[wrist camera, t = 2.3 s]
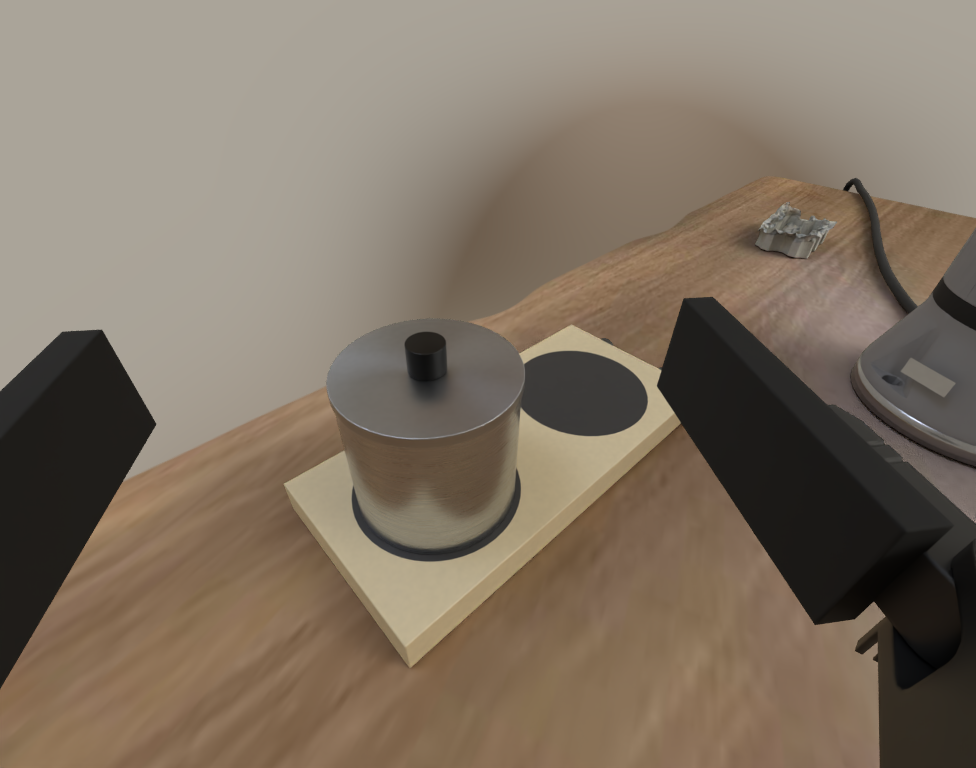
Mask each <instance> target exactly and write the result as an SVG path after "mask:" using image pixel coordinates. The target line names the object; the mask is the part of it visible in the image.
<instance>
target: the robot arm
mask: <svg viewBox="0 0 976 768" xmlns="http://www.w3.org/2000/svg"><path fill="white" fill-rule="evenodd" d="M853 184H854V185H855V187H856V190H857V192H858V193H859V194H860V195H861V197H862V198H863V200H864V202H865V204H866V207H867V209H868V212H869V216H870V221H871V230H872V238H873V245H874V251H875V255H876V259H877V262H878V265H879V268H880V271H881V273H882V275H883V278H884V279H885V281H886V283H887V285H888V286H889V288H890V290H891V291H892V293H893V294H894V296H895V297H896V299H897V300H898V301H899V303H900V304H901V305H902V307H903V308H904V309H905V310H906V311H907V313H908V315H907V316H906V317H904V318H903V319H902V320H901V321H899V322H898V323H897V324H896V325H894V326H893V327H892V328H891V329H889V330H888V331H887V332H885V333H884V334H883V335H882V336H880V337H879V338H878V339H877V340H875V341H874V342H873V343H872V344H870V345H869V346H868V348H866V349H865V350H864V351H863V352H862V354H861V356H860V357H859V359H858V360H857V362H856V364H855V365H854V367H853V369H852V371H851V382H852V385H853V388H854V390H855V392H856V393H857V395H858V396H859V398H860V399H861V400H862V401H863V403H864V404H865V405H866V406H867V407H868V408H869V409H870V410H871V411H872V412H873V413H875V414H876V415H877V416H878V417H879V418H881V419H882V420H883V421H884V422H886V423H887V424H888V425H890V426H891V427H893V428H894V429H896V430H897V431H899V432H900V433H902V434H904V435H905V436H907V437H909V438H910V439H912V440H914V441H916V442H918V443H920V444H921V445H923V446H925V447H927V448H930V449H932V450H934V451H936V452H938V453H941V454H943V455H945V456H948V457H950V458H953V459H955V460H958V461H961V462H964V463H966V464H970V465H973V466H976V228H975V230H974V231H973V233H972V234H971V236H970V237H969V239H968V240H967V242H966V243H965V244H964V246H963V247H962V249H961V250H960V252H959V253H958V255H957V256H956V258H955V259H954V261H953V262H952V263H951V265H950V266H949V268H948V269H947V271H946V272H945V274H944V276H943V277H942V279H941V280H940V282H939V283H938V285H937V286H936V287H935V289H934V290H933V292H932V293H931V295H930V296H929V297H928V299H927V300H926V301H925V302H923V303H922V304H921V305H920V306H917V305H916V304H915V303H914V302H913V301H912V299H911V298H910V297H909V296H908V294H907V293H906V292H905V290H904V289H903V288H902V286H901V285H900V283H899V282H898V280H897V278H896V277H895V275H894V273H893V272H892V270H891V267H890V265H889V263H888V260H887V257H886V254H885V251H884V248H883V243H882V238H881V232H880V224H879V219H878V214H877V210H876V207H875V205H874V203H873V201H872V199H871V197H870V195H869V193H868V192H867V191H866V190H865V188H864V187H863V185H862V183H861V181H860V180H859V179H857V178H854V179H852V180H850V181H849V182H848V183H847V184H846V185H845V187H844V188H843V190H844V191H849V190H850V188H851V187H852V185H853ZM657 387H658V389H659V390H660V392H661V393H662V395H663V396H664V398H665V399H666V401H667V402H668V404H669V405H670V407H671V408H672V410H673V411H674V413H675V415H676V416H677V418H678V419H679V421H680V422H681V424H682V425H683V427H684V428H685V430H686V431H687V433H688V434H689V436H690V437H691V439H692V440H693V442H694V443H695V445H696V446H697V448H698V449H699V451H700V452H701V454H702V455H703V457H704V458H705V460H706V461H707V463H708V464H709V466H710V467H711V469H712V470H713V472H714V473H715V475H716V476H717V478H718V479H719V481H720V482H721V484H722V485H723V487H724V488H725V490H726V491H727V493H728V494H729V496H730V497H731V499H732V500H733V502H734V503H735V505H736V507H737V508H738V510H739V511H740V513H741V514H742V516H743V517H744V519H745V520H746V522H747V523H748V525H749V526H750V528H751V529H752V531H753V532H754V534H755V535H756V537H757V538H758V540H759V541H760V543H761V544H762V546H763V547H764V549H765V550H766V552H767V553H768V555H769V556H770V558H771V559H772V561H773V562H774V564H775V565H776V567H777V568H778V570H779V571H780V573H781V574H782V576H783V577H784V579H785V580H786V582H787V583H788V585H789V586H790V588H791V589H792V591H793V592H794V594H795V595H796V597H797V599H798V600H799V602H800V603H801V605H802V606H803V608H804V609H805V611H806V612H807V614H808V615H809V617H810V618H811V620H812V621H813V623H814V624H815V625H818V624H825V623H832V622H839V621H846V620H852V619H855V618H857V617H858V616H859V615H860V614H861V613H862V612H863V611H864V610H865V609H866V608H867V607H868V606H869V605H870V604H871V603H873V602H875V603H876V604H877V606H878V607H879V608H880V609H881V611H882V612H883V613H884V615H885V616H886V617H885V618H884V619H882V620H881V621H880V622H879V623H878V624H877V625H876V626H874V627H873V628H872V629H871V630H870V631H869V632H868V633H866V634H865V635H864V636H863V637H862V638H861V639H860V640H858V643H857V646H856V649H855V651H856V652H858V653H860V654H863V653H865V652H866V651H867V650H868V649H869V648H871V647H872V646H873V645H874V644H875V643H877V642H878V654H877V655H876V656H875V657H874V658H873V660H874V661H876V662H878V683H879V744H880V768H976V524H975V523H974V522H973V521H972V520H971V519H970V518H969V517H967V516H966V515H965V514H964V513H963V512H962V511H961V510H960V509H959V508H958V507H956V506H955V505H954V504H953V503H952V502H951V501H950V500H949V499H948V498H947V497H945V496H944V495H943V494H942V493H941V492H940V491H939V490H938V489H937V488H936V487H934V486H933V485H932V484H931V483H930V482H929V481H928V480H927V479H926V478H925V477H923V476H922V475H921V474H920V473H919V472H918V471H917V470H916V469H915V468H913V467H912V466H911V465H910V464H909V463H908V462H903V461H902V457H901V456H900V455H899V454H898V453H897V452H896V451H895V450H894V449H893V448H891V447H890V446H889V445H885V444H884V440H883V439H882V438H880V437H879V436H878V435H877V434H876V433H875V432H874V431H873V430H872V429H871V428H869V427H868V426H867V425H866V424H865V423H864V422H863V421H861V420H860V419H858V418H856V417H855V416H853V415H851V414H849V413H848V412H846V411H844V410H843V409H841V408H839V407H837V406H836V405H827V404H826V403H824V402H823V401H822V400H821V399H820V398H819V397H818V396H817V395H816V394H815V393H814V392H813V391H812V390H811V389H810V388H809V387H808V386H806V385H805V384H804V383H803V382H802V381H801V380H800V379H799V378H798V377H797V376H796V375H795V374H794V373H793V372H792V371H791V370H790V369H789V368H787V367H786V366H785V365H784V364H783V363H782V362H781V361H780V360H779V359H778V358H777V357H776V356H775V355H774V354H773V353H772V352H771V351H769V350H768V349H767V348H766V347H765V346H764V345H763V344H762V343H761V342H760V341H759V340H758V339H757V338H756V337H755V336H754V335H753V334H751V333H750V332H749V331H748V330H747V329H746V328H745V327H744V326H743V325H742V324H741V323H740V322H739V321H738V320H737V319H736V318H735V317H734V316H732V315H731V314H730V313H729V312H728V311H727V310H726V309H725V308H724V307H723V306H722V305H721V304H720V303H719V302H718V301H717V300H716V299H714V298H713V297H703V298H684V299H683V302H682V306H681V309H680V312H679V315H678V318H677V322H676V325H675V328H674V331H673V335H672V338H671V341H670V344H669V348H668V351H667V354H666V357H665V361H664V364H663V367H662V370H661V374H660V377H659V380H658V383H657ZM155 426H156V423H155V421H154V419H153V417H152V416H151V414H150V412H149V410H148V409H147V407H146V405H145V404H144V402H143V400H142V398H141V397H140V395H139V393H138V391H137V390H136V388H135V386H134V384H133V383H132V381H131V379H130V377H129V376H128V374H127V372H126V371H125V369H124V367H123V365H122V364H121V362H120V360H119V358H118V357H117V355H116V353H115V351H114V350H113V348H112V346H111V345H110V343H109V341H108V339H107V338H106V336H105V334H104V332H103V331H102V330H87V331H70V332H69V331H68V332H62V333H61V334H60V335H59V336H58V337H56V338H55V339H54V340H53V341H52V342H51V343H50V344H49V345H48V346H47V347H46V348H45V349H44V350H43V351H42V352H41V353H40V354H39V355H38V356H37V357H36V358H35V359H33V360H32V361H31V362H30V363H29V364H28V365H27V366H26V367H25V368H24V369H23V370H22V371H21V372H20V373H19V374H18V375H17V376H16V377H15V378H14V379H13V380H12V381H11V382H9V384H7V385H6V386H5V387H4V388H3V389H2V390H1V391H0V688H1V687H2V685H3V683H4V682H5V680H6V678H7V677H8V675H9V673H10V671H11V670H12V668H13V666H14V665H15V663H16V661H17V660H18V658H19V656H20V655H21V653H22V651H23V649H24V648H25V646H26V644H27V643H28V641H29V639H30V638H31V636H32V634H33V632H34V631H35V629H36V627H37V626H38V624H39V622H40V621H41V619H42V617H43V616H44V614H45V612H46V610H47V609H48V607H49V605H50V604H51V602H52V600H53V599H54V597H55V595H56V594H57V592H58V590H59V588H60V587H61V585H62V583H63V582H64V580H65V578H66V577H67V575H68V573H69V572H70V570H71V568H72V566H73V565H74V563H75V561H76V560H77V558H78V556H79V555H80V553H81V551H82V549H83V548H84V546H85V544H86V543H87V541H88V539H89V538H90V536H91V534H92V533H93V531H94V529H95V527H96V526H97V524H98V522H99V521H100V519H101V517H102V516H103V514H104V512H105V511H106V509H107V507H108V505H109V504H110V502H111V500H112V499H113V497H114V495H115V494H116V492H117V490H118V489H119V487H120V485H121V483H122V482H123V480H124V478H125V477H126V475H127V473H128V472H129V470H130V468H131V467H132V465H133V463H134V461H135V460H136V458H137V456H138V455H139V453H140V451H141V450H142V448H143V446H144V444H145V443H146V441H147V439H148V437H149V436H150V434H151V433H152V431H153V429H154V428H155Z"/></svg>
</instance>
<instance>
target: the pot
mask: <svg viewBox="0 0 976 768" xmlns="http://www.w3.org/2000/svg"><path fill="white" fill-rule="evenodd" d="M326 384H327V393H328V397H329V401H330V404H331V407H332V409H333V411H334V413H335V415H336V419H337V423H338V427H339V431H340V435H341V439H342V442H343V446H344V450H345V454H346V458H347V462H348V466H349V470H350V473H351V477H352V481H353V485H354V489H355V493H356V497H357V501H358V504H359V508H360V512H361V515H362V517H363V519H364V521H365V523H366V524H367V525H368V527H369V528H370V529H371V530H372V531H373V532H374V534H375V535H376V536H378V537H379V538H380V539H382V540H383V541H384V542H386V543H388V544H390V545H392V546H394V547H396V548H399V549H401V550H404V551H408V552H412V553H418V554H443V553H450V552H454V551H458V550H461V549H464V548H467V547H469V546H472V545H474V544H475V543H477V542H479V541H481V540H482V539H484V538H485V537H487V536H488V535H490V534H491V533H492V532H493V531H494V530H495V529H496V528H497V527H498V526H499V525H500V524H501V522H502V521H503V520H504V519H505V517H506V515H507V514H508V512H509V510H510V507H511V505H512V502H513V498H514V491H515V477H516V464H517V451H518V437H519V424H520V410H521V397H522V395H523V391H524V384H525V368H524V364H523V361H522V358H521V356H520V355H519V353H518V351H517V350H516V349H515V348H514V346H513V345H512V344H511V343H510V342H508V341H507V340H506V339H505V338H503V337H502V336H500V335H499V334H497V333H495V332H493V331H491V330H489V329H487V328H484V327H482V326H479V325H476V324H472V323H468V322H464V321H458V320H450V319H417V320H410V321H404V322H399V323H394V324H391V325H388V326H384V327H381V328H379V329H376V330H374V331H372V332H369V333H367V334H365V335H363V336H362V337H360V338H358V339H356V340H355V341H354V342H352V343H351V344H349V345H348V346H347V347H346V348H345V349H344V350H343V351H342V352H341V353H340V354H339V355H338V356H337V358H336V359H335V360H334V362H333V364H332V365H331V367H330V370H329V372H328V377H327V382H326Z"/></svg>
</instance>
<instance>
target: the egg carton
mask: <svg viewBox="0 0 976 768" xmlns="http://www.w3.org/2000/svg"><path fill="white" fill-rule="evenodd" d="M789 204H790V202H787V203H786V204H785V203H784V204H783V205H782V206H781V207H780V208H779V209H778V210H777V211H776V213H775V214H772V215H771V216H770V218H768V219H767V220H766V221H764V222H763V224H762V225H761V227H760V228H759V230H758V231H760V230H761V231H760V234H759V238H758V240H757V242H756V244H755V245H757V246H759V247H760V248H761V249H764V250H766V251H779V252H783V253H784V254H787V255H788V256H791V257H796V258H806V259H807V258H808V257H809V255H810V253H811V251H815V250H816V248H817V246H818V244H822V243H823V241H824V239H825V237H826V235H827V233H828V231H829V230H830V229H832V228H833V227H834V226H835V224H836V223H837V222H832V221H828V220H826V219H825V218H824V219H823V220H817V219H816V218H815V216H811V217H810V219H809V220H804V219H800V216H801V211H800V210H799V209H796V208H792V207H790V206H789Z"/></svg>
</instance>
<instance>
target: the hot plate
mask: <svg viewBox="0 0 976 768" xmlns="http://www.w3.org/2000/svg"><path fill="white" fill-rule="evenodd" d="M519 355H520V356H521V358H522V361H523V364H524V368H525V384H524V391H523V395H522V397H521V410H520V424H519V437H518V451H517V464H516V477H515V491H514V498H513V502H512V505H511V507H510V510H509V512H508V514H507V515H506V517H505V519H504V520H503V521H502V522H501V524H500V525H499V526H498V527H497V528H496V529H495V530H494V531H493V532H492V533H491V534H490V535H488V536H487V537H485V538H484V539H482V540H481V541H479V542H477V543H475V544H474V545H472V546H469V547H467V548H464V549H461V550H458V551H454V552H450V553H443V554H418V553H412V552H408V551H404V550H401V549H399V548H396V547H394V546H392V545H390V544H388V543H386V542H384V541H383V540H382V539H380V538H379V537H378V536H376V535H375V534H374V532H373V531H372V530H371V529H370V528H369V527H368V525H367V524H366V523H365V521H364V519H363V517H362V515H361V512H360V508H359V504H358V501H357V497H356V493H355V489H354V485H353V481H352V477H351V473H350V470H349V466H348V462H347V458H346V454H345V450H344V451H342V452H340V453H339V454H337V455H335V456H333V457H331V458H330V459H328V460H326V461H324V462H322V463H321V464H319V465H317V466H315V467H313V468H312V469H310V470H308V471H306V472H304V473H302V474H301V475H299V476H297V477H295V478H293V479H292V480H290V481H288V482H286V483H285V484H284V487H285V489H286V492H287V494H288V496H289V499H290V501H291V504H292V506H293V509H294V510H295V511H296V513H297V514H298V516H299V517H300V518H301V520H302V521H303V522H304V524H305V525H306V527H307V528H308V529H309V531H310V532H311V533H312V535H313V536H314V538H315V539H316V540H317V542H318V543H319V544H320V546H321V547H322V549H323V550H324V551H325V553H326V554H327V555H328V557H329V558H330V560H331V561H332V562H333V564H334V565H335V566H336V568H337V569H338V571H339V572H340V573H341V575H342V576H343V577H344V579H345V580H346V581H347V583H348V584H349V586H350V587H351V588H352V590H353V591H354V592H355V594H356V595H357V597H358V598H359V599H360V601H361V602H362V603H363V605H364V606H365V608H366V609H367V610H368V612H369V613H370V614H371V616H372V617H373V619H374V620H375V621H376V623H377V624H378V625H379V627H380V628H381V630H382V631H383V632H384V634H385V635H386V636H387V638H388V639H389V641H390V642H391V643H392V645H393V646H394V647H395V649H396V650H397V652H398V653H399V654H400V656H401V657H402V658H403V660H404V661H405V663H406V664H407V665H408V667H410V668H411V667H412V666H413V665H414V664H415V663H417V662H418V661H419V660H420V659H421V658H422V657H423V656H424V655H425V654H426V653H428V652H429V651H430V650H431V649H432V648H433V647H434V646H435V645H436V644H438V643H439V642H440V641H441V640H442V639H443V638H444V637H445V636H446V635H447V634H449V633H450V632H451V631H452V630H453V629H454V628H455V627H456V626H457V625H459V624H460V623H461V622H462V621H463V620H464V619H465V618H466V617H467V616H468V615H470V614H471V613H472V612H473V611H474V610H475V609H476V608H477V607H478V606H480V605H481V604H482V603H483V602H484V601H485V600H486V599H487V598H488V597H489V596H491V595H492V594H493V593H494V592H495V591H496V590H497V589H498V588H499V587H501V586H502V585H503V584H504V583H505V582H506V581H507V580H508V579H509V578H510V577H512V576H513V575H514V574H515V573H516V572H517V571H518V570H519V569H520V568H522V567H523V566H524V565H525V564H526V563H527V562H528V561H529V560H530V559H531V558H533V557H534V556H535V555H536V554H537V553H538V552H539V551H540V550H541V549H543V548H544V547H545V546H546V545H547V544H548V543H549V542H550V541H551V540H553V539H554V538H555V537H556V536H557V535H558V534H559V533H560V532H561V531H562V530H564V529H565V528H566V527H567V526H568V525H569V524H570V523H571V522H572V521H574V520H575V519H576V518H577V517H578V516H579V515H580V514H581V513H582V512H583V511H585V510H586V509H587V508H588V507H589V506H590V505H591V504H592V503H593V502H595V501H596V500H597V499H598V498H599V497H600V496H601V495H602V494H603V493H604V492H606V491H607V490H608V489H609V488H610V487H611V486H612V485H613V484H614V483H616V482H617V481H618V480H619V479H620V478H621V477H622V476H623V475H624V474H625V473H627V472H628V471H629V470H630V469H631V468H632V467H633V466H634V465H635V464H637V463H638V462H639V461H640V460H641V459H642V458H643V457H644V456H645V455H646V454H648V453H649V452H650V451H651V450H652V449H653V448H654V447H655V446H656V445H658V444H659V443H660V442H661V441H662V440H663V439H664V438H665V437H666V436H667V435H669V434H670V433H671V432H672V431H673V430H674V429H675V428H676V427H677V426H679V425H680V424H681V422H680V421H679V419H678V418H677V416H676V415H675V413H674V411H673V410H672V408H671V407H670V405H669V404H668V402H667V401H666V399H665V398H664V396H663V395H662V393H661V392H660V390H659V389H658V387H657V383H658V380H659V377H660V374H661V370H662V367H660V368H656V367H654V366H652V365H650V364H648V363H646V362H644V361H642V360H640V359H638V358H636V357H634V356H632V355H630V354H628V353H626V352H624V351H622V350H620V349H618V348H616V347H615V346H613V344H612V342H611V341H610V340H608V339H606V338H602V339H599V338H597V337H595V336H593V335H591V334H589V333H587V332H585V331H583V330H581V329H579V328H577V327H575V326H573V325H570V326H568V327H566V328H565V329H563V330H561V331H559V332H557V333H556V334H554V335H552V336H550V337H548V338H546V339H545V340H543V341H541V342H539V343H537V344H536V345H534V346H532V347H530V348H528V349H527V350H525V351H523V352H521V353H519Z"/></svg>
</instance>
